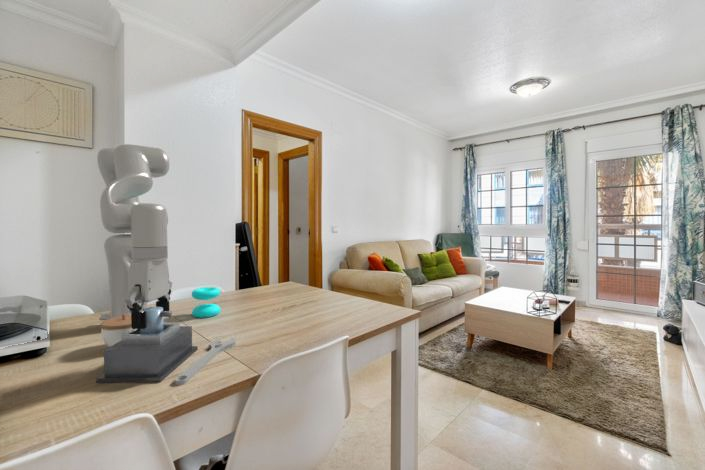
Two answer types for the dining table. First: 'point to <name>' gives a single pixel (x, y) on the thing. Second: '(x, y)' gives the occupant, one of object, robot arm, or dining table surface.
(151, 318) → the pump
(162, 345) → the grey open box
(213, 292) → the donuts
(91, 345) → the dining table surface
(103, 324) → the lidded jar
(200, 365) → the adjustable wrench
